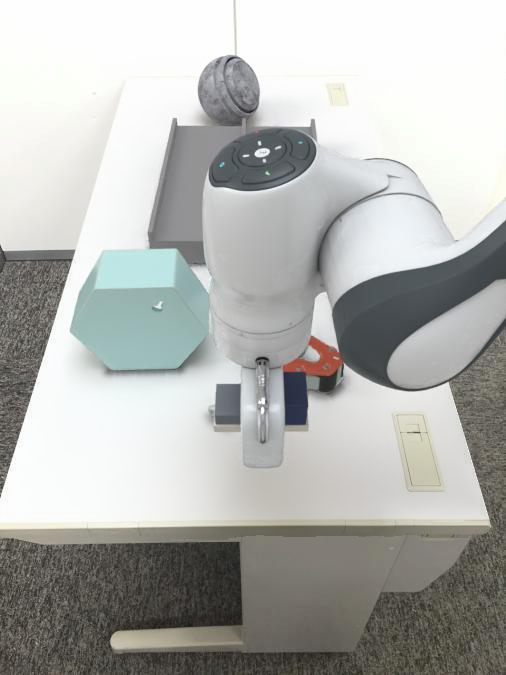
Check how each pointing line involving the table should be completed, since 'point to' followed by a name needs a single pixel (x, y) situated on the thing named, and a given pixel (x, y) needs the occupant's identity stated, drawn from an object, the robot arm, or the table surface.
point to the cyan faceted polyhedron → (141, 310)
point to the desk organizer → (191, 184)
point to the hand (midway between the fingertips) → (261, 405)
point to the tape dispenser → (316, 368)
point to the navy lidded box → (293, 395)
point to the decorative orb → (228, 90)
